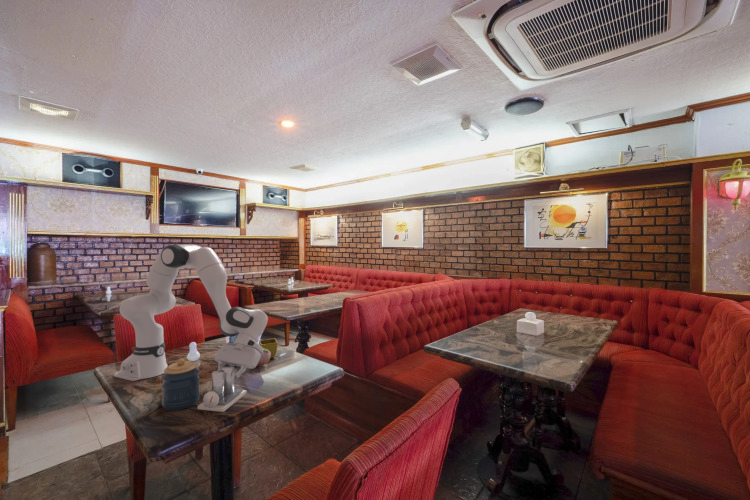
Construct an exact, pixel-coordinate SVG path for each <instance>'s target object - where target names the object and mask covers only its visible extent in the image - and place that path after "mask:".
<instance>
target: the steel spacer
mask: <svg viewBox="0 0 750 500" xmlns="http://www.w3.org/2000/svg"><path fill="white" fill-rule="evenodd" d="M222 370H224V394H229V393H232V392H234V388H235V376H234V374H235V366H233V365H228V364H227V365H224V366H223V368H222Z"/></svg>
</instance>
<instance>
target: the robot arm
mask: <svg viewBox="0 0 750 500" xmlns="http://www.w3.org/2000/svg"><path fill="white" fill-rule="evenodd" d="M182 268H183V269H189V268H194V269H195V271H196V273H197V275H198V277H199V279H200V281H201V283H202V285H203V286H204V288H205V290H206V292H207V294H208V295H209V297H210V299H211V302H212V304H213V307H214V309H215V312H216V313H217V316H218V319H219V326H218V328H219V331H220V332H221V334H222V335H224V336H226V337H232V336H236V335H238V334H239V335H238V336H237V338H236V340H235V341H234V343H231V342H229V341H227V343H226V342H225V343H224V345H222V346H221V348H220V349H219V350H218V351H217V353H216V354H215V356H214V361H215V362H216V363H218V364H217V370H222V368H223V367H224V366H226V365H227V366H228V365H233V366H234V367H240V368H239V370H238V371H235V372H234V378H238V379H239V378H240V377H241V375H242V374H243V373H245V372H246V371H247V369H251V370H253V369H255V368H256V367H257V366H258V365H257V364H258V362H259V360H260V357H261V354H260V353H262V352H263V350H264V349H263V348H262V347H261V346H260V344H259V338H260V336H261V335H263V333H264V331H265V329H266V327H267V324H268V320H269V317H268V315H267V314H266V312H265V311H263V310H262V309H259V308H256V309H249V308H248V309H247V308H243V307H240V306H233V307H232V306H231V304H230V301H229V300H228V297H227V292H226V291H227V284H228V283H227V282H228V273H227V270H226V268H225V266H224V264H223V262H222V261H221V259H220V257H219V256H218V254H217V253H216V252H215V250H214V249H212V247H207V246H204V245H201V244H190V243H187V244H169V245H167V246H165V247H164V248H163V249H162V250H160V252H159V253H158V255H157V256H156V258H155V259H154V261H153V262H152V265H151V267H150V269H149V272H148V274H147V277H146V279H145V283H146V285H147V287H148V288H149V289H150V290H149V292H148V293H145V294H140V295H134V296H131V297H129V298H127V299H124V300H123V301H122V302H121V303H120V305H119V314H120V315H121V317H122V318H124V319H125V320H127V321H129V322H130V324H131V325H132V326H133V329H134V334H135V335H134V336H135V346H133V347H131V348H130V350H131V351H132V353H131V354H130V355H129V356H128V357H127V358H125V359H124V360H123V361H121V364H120V368H119V369H120V370H118V371H116V372H115V373H114V374H113V377H115V378H118V379H123V380H127V381H131V382H135V381H139V380H143V379H150V378H154V377H157V376H160V375H161V376H162V375H163V374H164V373H165V372H164V370H165V369H166V368H167V367H168V366H169V365H168V363H167V359H166V352H165V349H166V344H165V341H164V340H165V339H164V326H163V325H162V324H160V323H157V322H156V320H155V316H156V315H162V314H165V313H166V312H169V311H170V310H172V309H174V307H175V306H176V302H177V300H176V297H175V295H174V294H173V292H172V290H173V285H174V283H175V280H176V279H177V275H178V274H179V271H180V269H182Z"/></svg>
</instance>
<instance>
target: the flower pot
mask: <svg viewBox="0 0 750 500" xmlns="http://www.w3.org/2000/svg"><path fill="white" fill-rule="evenodd" d="M258 344H259V345H260V346H261V347H262V348H265V349H268V350H269V351H270V353H271V357H270V359H273V358H275V356H276V354H277V352H278V341H277V339H276V338H275V337H274V338H268V339H262V340H261V339H260V340H258Z"/></svg>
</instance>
